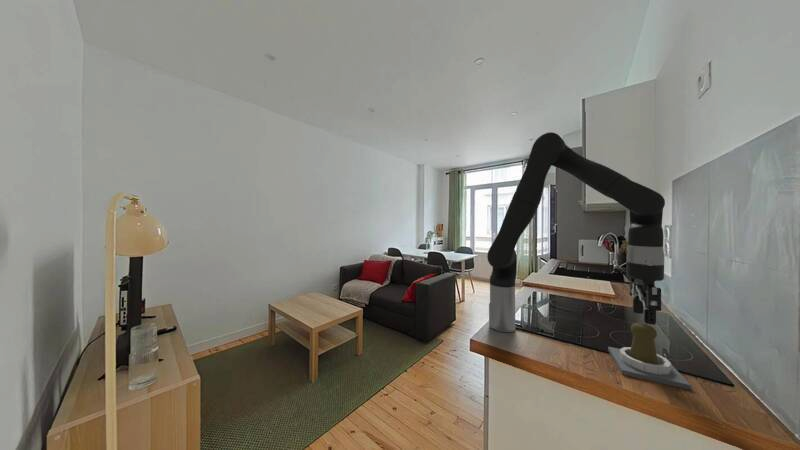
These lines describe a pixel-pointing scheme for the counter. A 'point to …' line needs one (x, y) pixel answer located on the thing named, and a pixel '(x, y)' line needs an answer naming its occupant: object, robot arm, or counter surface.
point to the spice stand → (648, 368)
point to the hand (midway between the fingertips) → (643, 318)
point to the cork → (643, 343)
